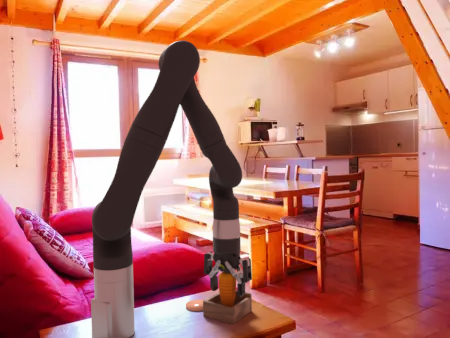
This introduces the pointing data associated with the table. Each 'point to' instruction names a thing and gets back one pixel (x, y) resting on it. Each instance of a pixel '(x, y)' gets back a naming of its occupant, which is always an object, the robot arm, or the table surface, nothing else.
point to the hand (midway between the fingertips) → (227, 293)
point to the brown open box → (227, 308)
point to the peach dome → (195, 305)
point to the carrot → (227, 288)
